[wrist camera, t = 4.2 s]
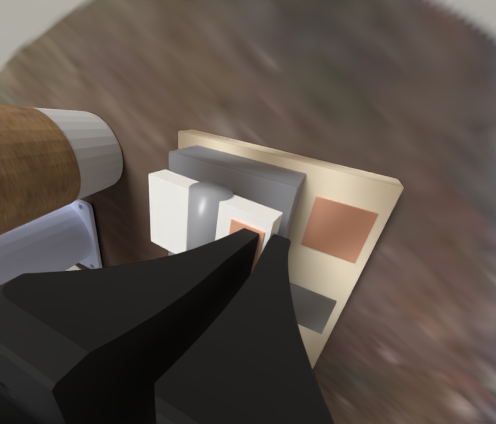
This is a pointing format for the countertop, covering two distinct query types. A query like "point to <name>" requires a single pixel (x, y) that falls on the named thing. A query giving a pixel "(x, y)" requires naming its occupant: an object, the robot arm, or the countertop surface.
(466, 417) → the countertop surface
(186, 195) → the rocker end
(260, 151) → the switch unit
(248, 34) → the countertop surface
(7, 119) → the coffee cup
